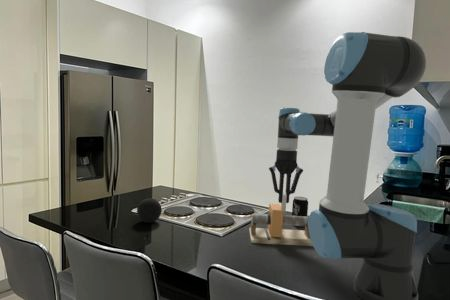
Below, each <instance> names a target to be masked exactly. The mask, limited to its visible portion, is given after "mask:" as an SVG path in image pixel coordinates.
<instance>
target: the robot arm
mask: <svg viewBox="0 0 450 300" xmlns="http://www.w3.org/2000/svg"><path fill="white" fill-rule="evenodd" d="M426 67H427V57H426V54H425V52H424V49H423V48H422V47H421V46H420V44H419V43H418V42H416V41H415V40H414V39H411V38H409V37H406V36H398V35H397V36H396V35H387V34H381V33H380V34H379V33H371V32H366V31H362V32H360V31H359V32H358V31H357V32H355V31H353V32H351V31H350V32H345V33H343V34H341V35H339V36H338V37H337V38H336V39H335V40H334V42H333V43H332V45H331V46H330V48H329V50H328V53H327V55H326V58H325V62H324V69H323V70H324V71H323V72H324V78H325V81H326V82H327V83H329V84H330V85H332V88H331V93H332V94H333V95H334V96H335V98H336V99H337V101H336V108H335V109H334V110H333V111H332V112H331V113H329V114H325V113H312V112H311V113H309V112H302V111H300V109H299V108H297V107H296V108H295V107H281V108H280V109H279V113H278V117H277V118H278V128H277V143H276V148H277V150H276V157H275V158H276V159H275V162H274V164H273V165H271V166H269V167H268V170H269V171H270V174H271V180H272V184H273V190H274V191H273V192H274V193H277V194H278V204H280V206H281V207H282V209H283V210H284V212H283V213H286V210H287V204H289V203H290V195H292V194H295V192H296V190H297V186H298V183H299V180H300V176H301V174H303V172H304V169H303V168H301V167H299V166H298V163H297V162H298V161H297V158H298V157H297V156H298V151H297V150H298V145H299V144H298V143H299V136H302V137H303V136H319V137H320V136H321V137H332V147H331V155H330V162H329V163H330V164H329V171H328V173H329V174H328V181H327V183H328V184H327V189H326V190H327V191H326V196H324V197H322V198H321V199H320V200H319V206H318V209H315V210H312V211H311V212H310V213H309V214H308V217H309V219H308V229H309V235H310V239H311V242H312V245H313V246H312V247H313V248H314V250H315V252H316V253H317V254H318V255H319V256H320V257H321V258H324V259H335V260H340V259H343V260H344V259H362V262H361V265H360V266H359V267H358V271H357V272H356V275H355V277H354V279H353V291H354V293H355V292H356V293H355V294H356V295H357V296H359V298H361V299H362V300H419V292H418V288H417V284H416V281H415V277H414V276H415V275H414V273H413V272H414V271H413V270H414V260H415V253H416V252H415V250H416V243H417V234H418V228H417V227H418V219H417V217H416V216H415V214H413V213H411V211H410V212H409V211H407V210H405V209H402V208H401V209H400V208H398V207H395V206H391V205H390V206H389V205H385V204H381V203H380V204H379V203H368V204H367V203H365V201H364V198H365V191H366V183H367V177H368V170H369V162H370V161H369V160H370V154H371V148H372V147H371V145H372V140H373V139H372V137H373V133H374V132H373V131H374V122H375V117H376V110H377V109H378V108H379V107H381V106H382V105H385V104H386V103H387V102H388V101H390V100H391V99H392V98H393V99H394V98H395V99H396V98H400V97H402V96H404V95H405V94H407V93H408V92H410V91H411V90H413V89H414V88H415V87H416V86H417V85H418V83H420V81H421V80H422V79H423V77H424V74H425V71H426ZM276 169H277V171H278V173H279V183H278V181H277V177H276ZM294 171H295V172H296V173H295V175H294V178H293V180H292V184H291V179H292V174H293V173H294ZM285 175H286V176H285ZM285 177H286V178H285ZM284 181H285V193H284Z"/></svg>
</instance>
